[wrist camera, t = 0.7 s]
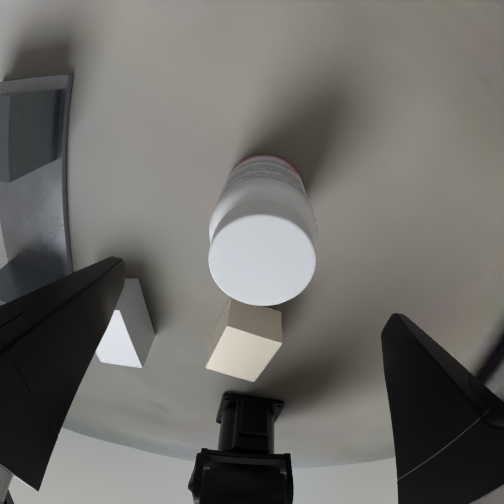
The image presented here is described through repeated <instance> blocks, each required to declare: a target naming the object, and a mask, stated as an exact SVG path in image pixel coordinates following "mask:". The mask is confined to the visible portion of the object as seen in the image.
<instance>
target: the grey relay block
mask: <svg viewBox="0 0 504 504" xmlns="http://www.w3.org/2000/svg"><path fill="white" fill-rule="evenodd" d="M154 337H155V333H154V330H153V326H152V323H151V320H150V317H149V314H148V310H147V307H146V304H145V300H144V297H143V293H142V290H141V286H140V282H139V279H137V278H125V283H124V287H123V290H122V292H121V295H120V297H119V300H118V302H117V305H116V308H115V310H114V313H113V315H112V318H111V321H110V323H109V325H108V327H107V330H106V332H105V334H104V335H103V337H102V339H101V341H100V343H99V345H98V347H97V349H96V351H95V352H96V354H97V356H98V357H99V359H100V361H101V362H105V363H111V364H117V365H124V366H131V367H139V368H143V365H144V363H145V360H146V358H147V355H148V352H149V350H150V347H151V345H152V342H153V340H154Z"/></svg>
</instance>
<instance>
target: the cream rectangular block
mask: <svg viewBox="0 0 504 504" xmlns="http://www.w3.org/2000/svg"><path fill="white" fill-rule="evenodd" d="M281 345H282V321H281V312H280V311H277V310H274V309H271V308H268V307H265V306H256V305H250V304H246V303H243V302H240V301H238V300H236V299H234V298H232V297H231V298H230V300H229V302H228V304H227V306H226V308H225V310H224V312H223V315H222V317H221V319H220V321H219V323H218V325H217V327H216V329H215V331H214V333H213V335H212V338H211V343H210V348H209V352H208V358H207V363H206V368H207V369H211V370H214V371H217V372H220V373H224V374H227V375H231V376H234V377H238V378H241V379H245V380H248V381H252V382H255V380H256V379H257V378H258V376H259V375H260V374H261V372H262V371H263V370H264V368H265V367H266V365H267V364H268V363H269V361H270V360H271V359H272V357H273V356H274V354H275V353H276V352H277V350H278V349H279V348H280V346H281Z"/></svg>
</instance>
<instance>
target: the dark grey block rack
mask: <svg viewBox="0 0 504 504" xmlns="http://www.w3.org/2000/svg"><path fill="white" fill-rule="evenodd" d="M73 76H74V74H70V75H54V76H43V77H33V78H25V79H17V80H11V81H4V82H0V220H1V226H2V232H3V238H4V243H5V248H6V253H7V257H8V263H7V264H6V265H5V266H4V267H3V268H2V269H1V270H0V306H1V305H3V304H6V303H8V302H10V301H12V300H14V299H17V298H19V297H21V296H23V295H25V294H27V295H28V293H29V292H32V291H34V290H36V289H38V288H40V287H42V286H45V285H47V284H49V283H51V282H54V281H56V280H58V279H60V278H63V277H65V276H67V275H69V274H72V273H73V267H72V259H71V250H70V240H69V229H68V214H67V189H66V158H67V133H68V119H69V108H70V98H71V90H72V82H73Z"/></svg>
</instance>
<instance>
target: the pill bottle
mask: <svg viewBox="0 0 504 504" xmlns="http://www.w3.org/2000/svg"><path fill="white" fill-rule="evenodd" d="M317 233H318V229H317V222H316V218H315V215H314V212H313V209H312V207H311V204H310V202H309V199H308V196H307V194H306V191H305V189H304V185H303V183H302V180H301V178H300V175H299V174H298V172H297V171H296V170H295V168H294V167H293V166H292V165H290V164H289V163H288V162H286V161H285V160H283V159H281V158H279V157H276V156H271V155H258V156H253V157H250V158H247V159H245V160H244V161H242V162H240V163H239V164H238V165H237V166H236V167H235V168H234V169H233V170H232V172H231V173H230V175H229V177H228V179H227V181H226V184H225V186H224V188H223V190H222V193H221V195H220V197H219V199H218V202H217V204H216V206H215V208H214V210H213V213H212V215H211V220H210V226H209V237H210V243H211V245H210V249H209V258H208V261H209V268H210V271H211V274H212V277H213V278H214V280H215V282H216V283H217V285H218V286H219V287H220V288H221V289H222V290H223V291H224V292H225V293H226V294H227V295H229V296H230V297H232V298H234V299H236V300H238V301H240V302H243V303H246V304H250V305H256V306H270V305H275V304H280V303H283V302H285V301H288V300H290V299H292V298H294V297H295V296H297V295H298V294H299V293H300V292H302V291H303V290H304V289H305V287H306V286H307V285H308V284H309V282H310V280H311V279H312V277H313V274H314V271H315V268H316V251H315V246H316V242H317Z"/></svg>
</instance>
